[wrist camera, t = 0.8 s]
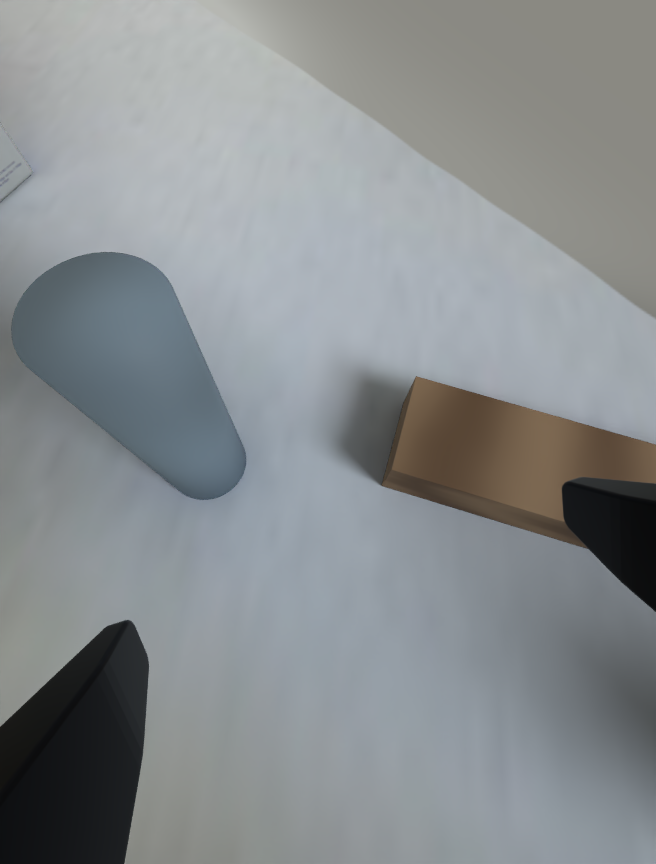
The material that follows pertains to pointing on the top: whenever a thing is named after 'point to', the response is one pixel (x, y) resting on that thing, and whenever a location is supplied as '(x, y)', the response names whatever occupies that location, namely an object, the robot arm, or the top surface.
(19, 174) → the medicine box
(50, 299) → the dowel
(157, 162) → the top surface
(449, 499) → the beam
